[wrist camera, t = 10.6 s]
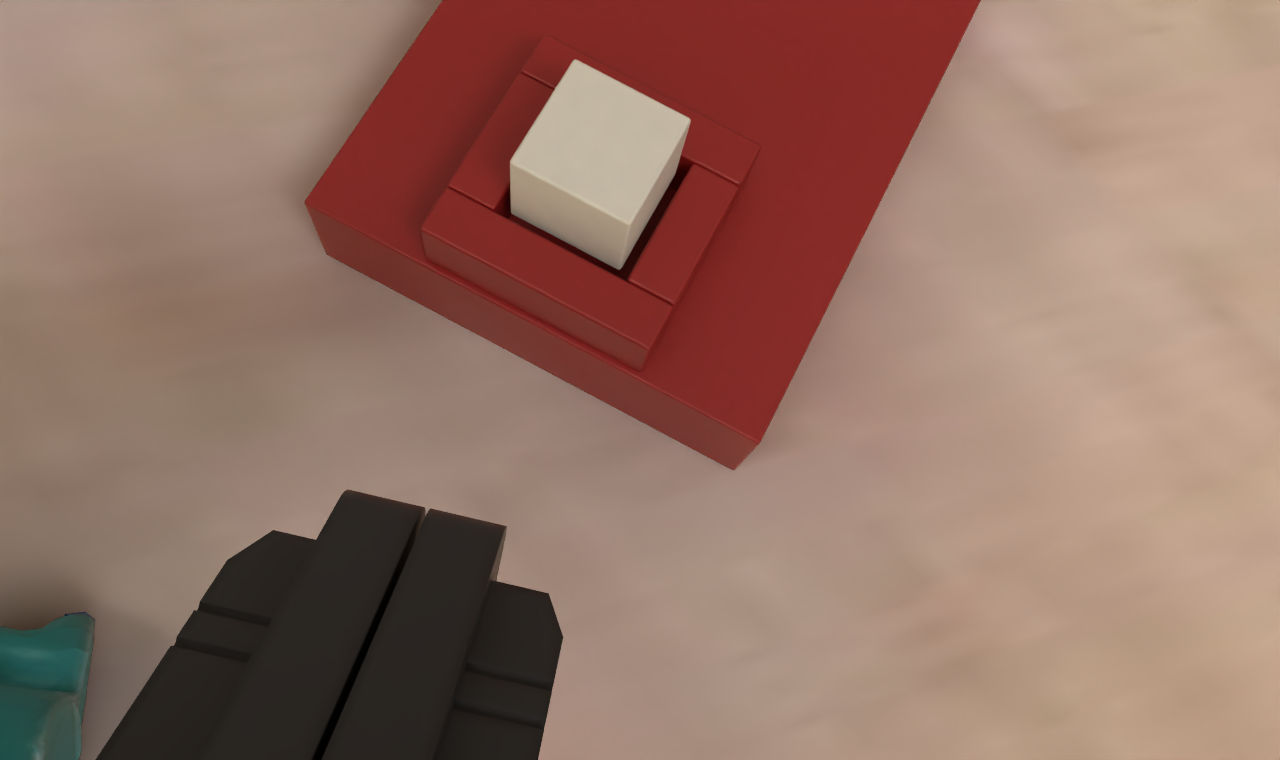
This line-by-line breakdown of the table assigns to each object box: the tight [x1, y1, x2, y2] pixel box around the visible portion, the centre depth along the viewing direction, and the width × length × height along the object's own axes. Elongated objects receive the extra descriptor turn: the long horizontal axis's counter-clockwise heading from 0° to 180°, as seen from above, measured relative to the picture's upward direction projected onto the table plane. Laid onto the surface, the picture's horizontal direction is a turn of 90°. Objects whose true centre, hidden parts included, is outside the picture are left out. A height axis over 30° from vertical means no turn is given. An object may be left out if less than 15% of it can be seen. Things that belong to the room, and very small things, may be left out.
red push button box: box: [305, 0, 981, 470], centre depth 29 cm, size 12×16×5 cm
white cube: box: [510, 59, 691, 270], centre depth 24 cm, size 3×3×3 cm
